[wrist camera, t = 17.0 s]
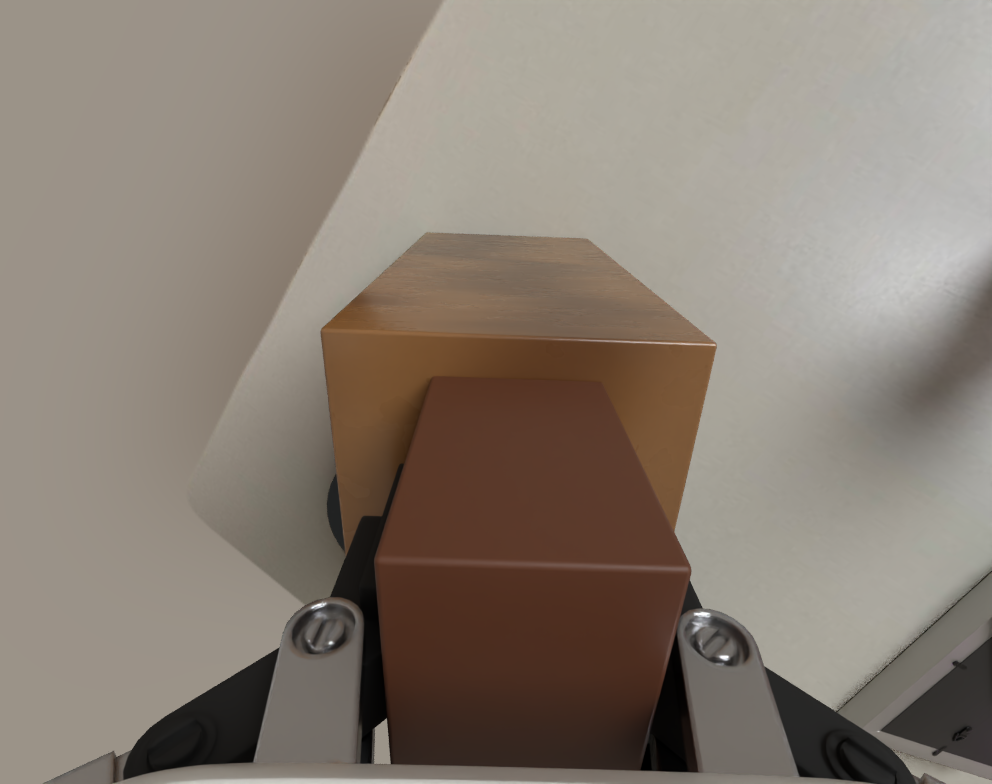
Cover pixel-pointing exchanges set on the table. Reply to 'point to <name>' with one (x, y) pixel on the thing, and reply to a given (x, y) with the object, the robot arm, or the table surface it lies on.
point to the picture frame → (938, 691)
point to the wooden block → (507, 352)
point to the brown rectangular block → (525, 582)
